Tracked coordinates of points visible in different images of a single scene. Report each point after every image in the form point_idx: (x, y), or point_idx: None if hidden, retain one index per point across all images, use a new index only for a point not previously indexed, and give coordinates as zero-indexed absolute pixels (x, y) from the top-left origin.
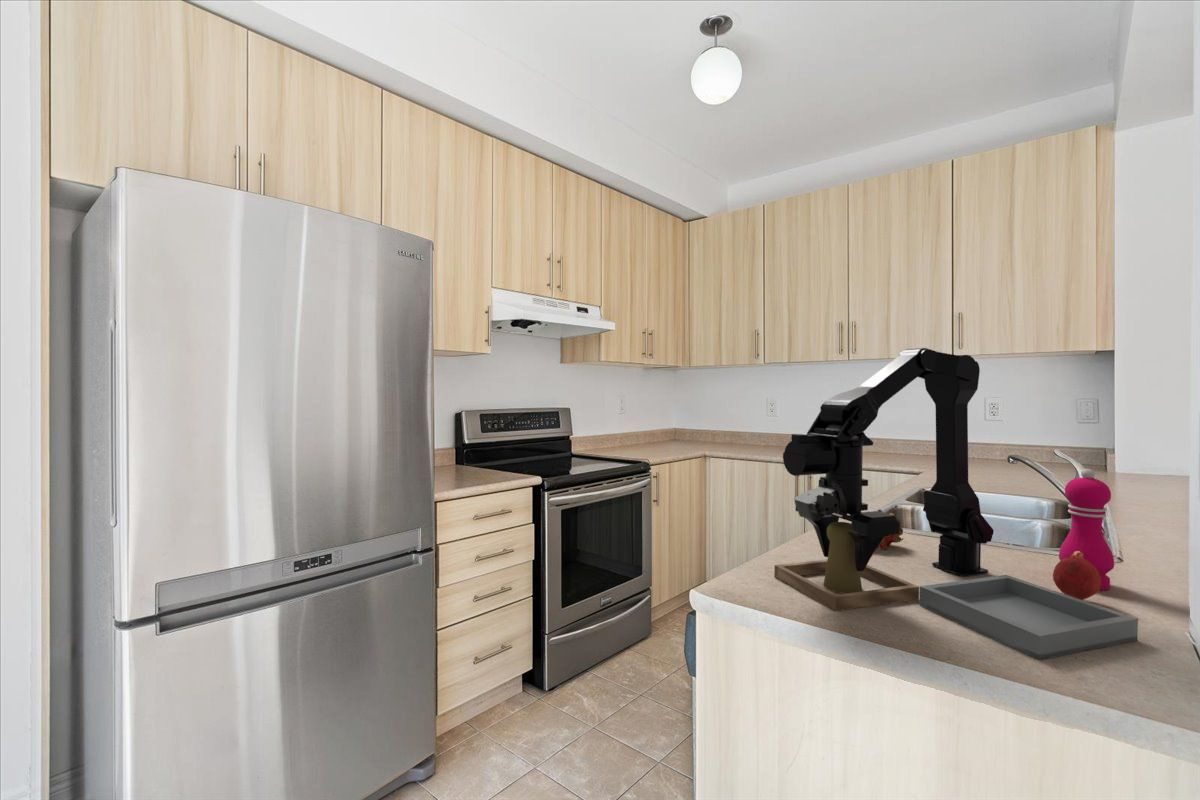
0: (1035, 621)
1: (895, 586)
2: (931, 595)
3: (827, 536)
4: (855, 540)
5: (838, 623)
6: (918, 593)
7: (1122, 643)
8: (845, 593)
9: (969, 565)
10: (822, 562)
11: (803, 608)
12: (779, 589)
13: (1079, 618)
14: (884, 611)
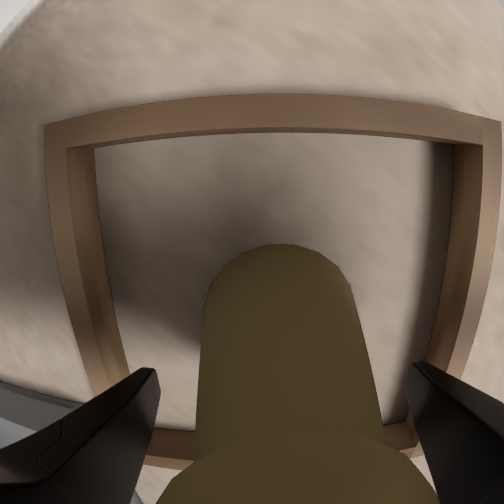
0: None
1: (193, 443)
2: (46, 425)
3: (459, 456)
4: (22, 475)
5: (12, 89)
6: None
7: None
8: (213, 281)
9: None
10: (449, 360)
11: (125, 23)
12: (336, 34)
13: None
14: (53, 290)
